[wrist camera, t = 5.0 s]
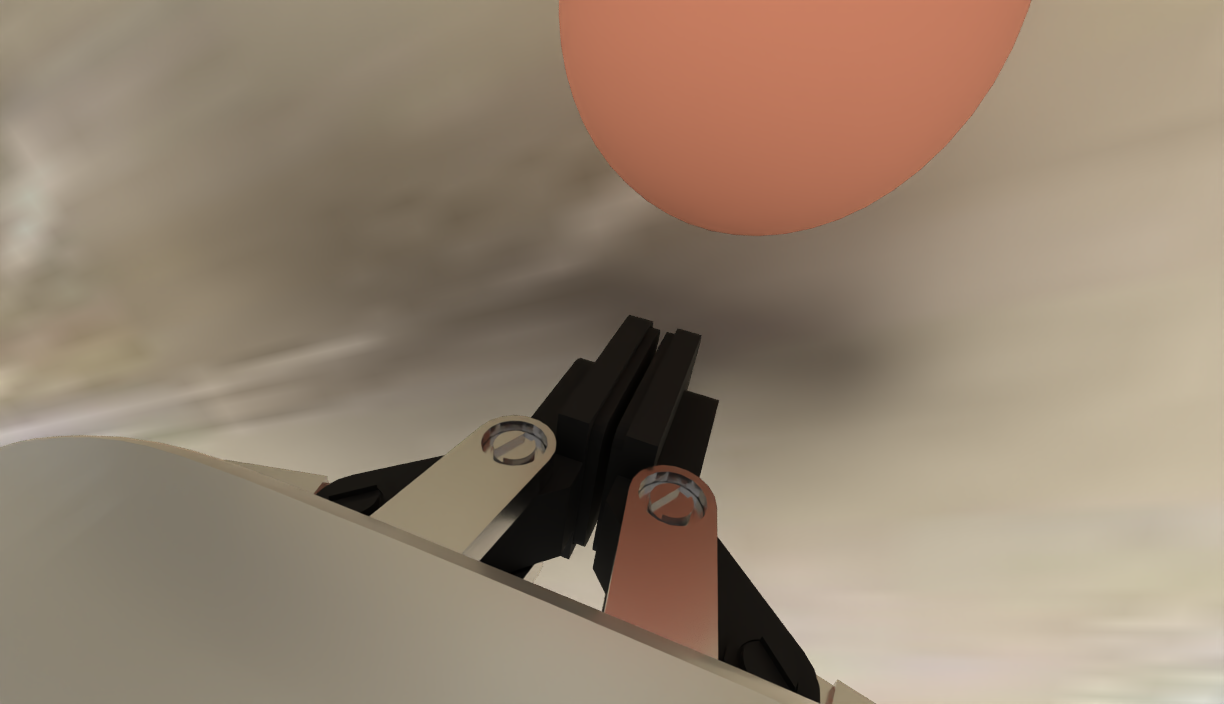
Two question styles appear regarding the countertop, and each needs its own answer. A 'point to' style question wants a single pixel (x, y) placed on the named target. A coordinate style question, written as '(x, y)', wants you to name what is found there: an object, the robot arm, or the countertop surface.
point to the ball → (778, 98)
